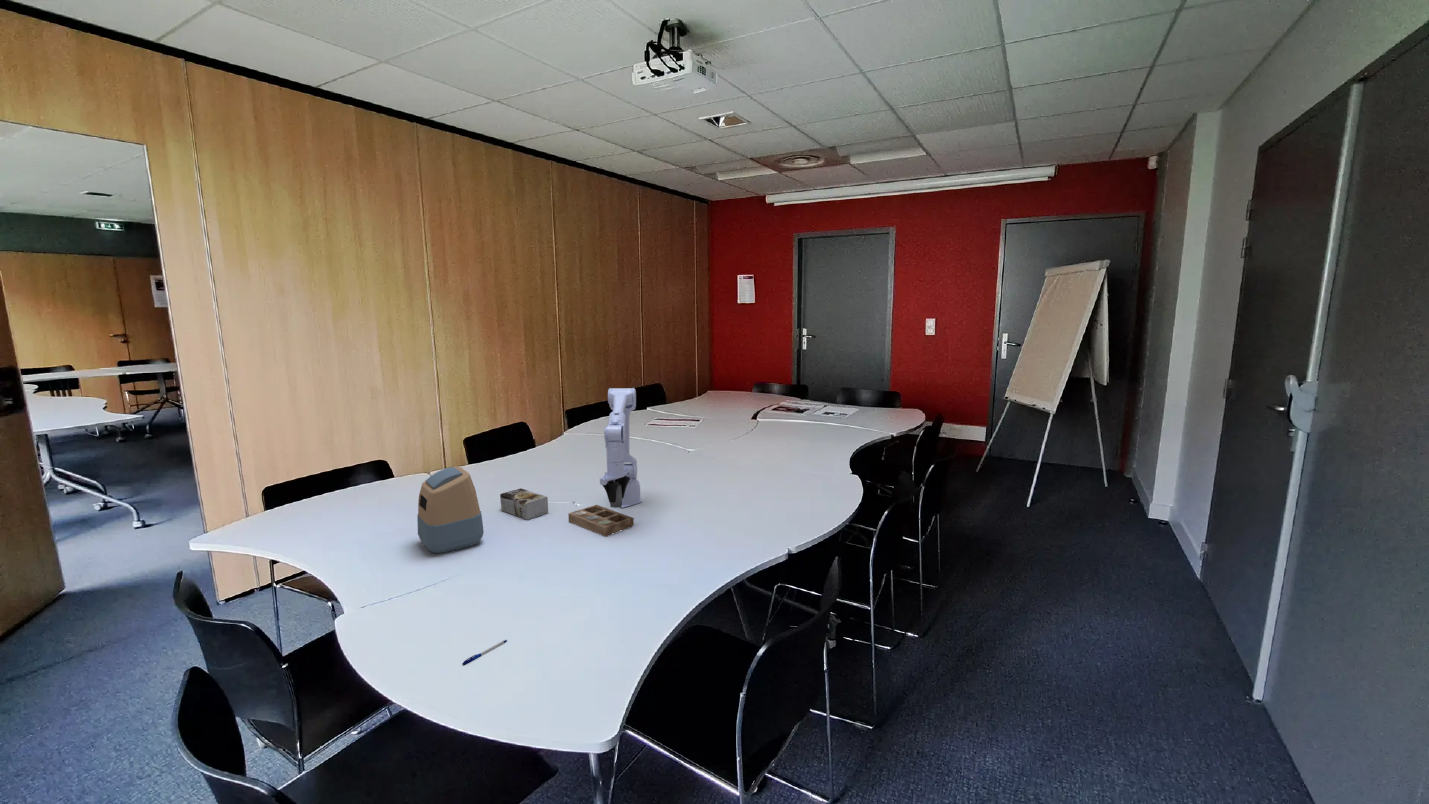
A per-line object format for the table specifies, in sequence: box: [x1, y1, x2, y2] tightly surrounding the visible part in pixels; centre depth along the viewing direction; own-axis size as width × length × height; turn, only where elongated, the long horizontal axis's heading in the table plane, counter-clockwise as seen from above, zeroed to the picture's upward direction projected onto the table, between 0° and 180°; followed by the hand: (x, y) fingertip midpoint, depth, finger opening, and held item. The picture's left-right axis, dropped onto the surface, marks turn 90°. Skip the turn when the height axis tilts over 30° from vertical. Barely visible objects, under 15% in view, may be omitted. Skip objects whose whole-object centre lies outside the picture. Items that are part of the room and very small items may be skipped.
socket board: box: [568, 504, 635, 537], centre depth 195 cm, size 12×20×3 cm, turn 49°
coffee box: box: [499, 488, 549, 521], centre depth 206 cm, size 9×6×16 cm
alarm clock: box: [416, 465, 485, 554], centre depth 177 cm, size 17×17×23 cm
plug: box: [609, 484, 622, 508], centre depth 191 cm, size 4×4×8 cm
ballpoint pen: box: [462, 639, 508, 666], centre depth 122 cm, size 10×1×1 cm, turn 147°
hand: (616, 500), depth 191 cm, fingers closed on plug, 4 cm apart
